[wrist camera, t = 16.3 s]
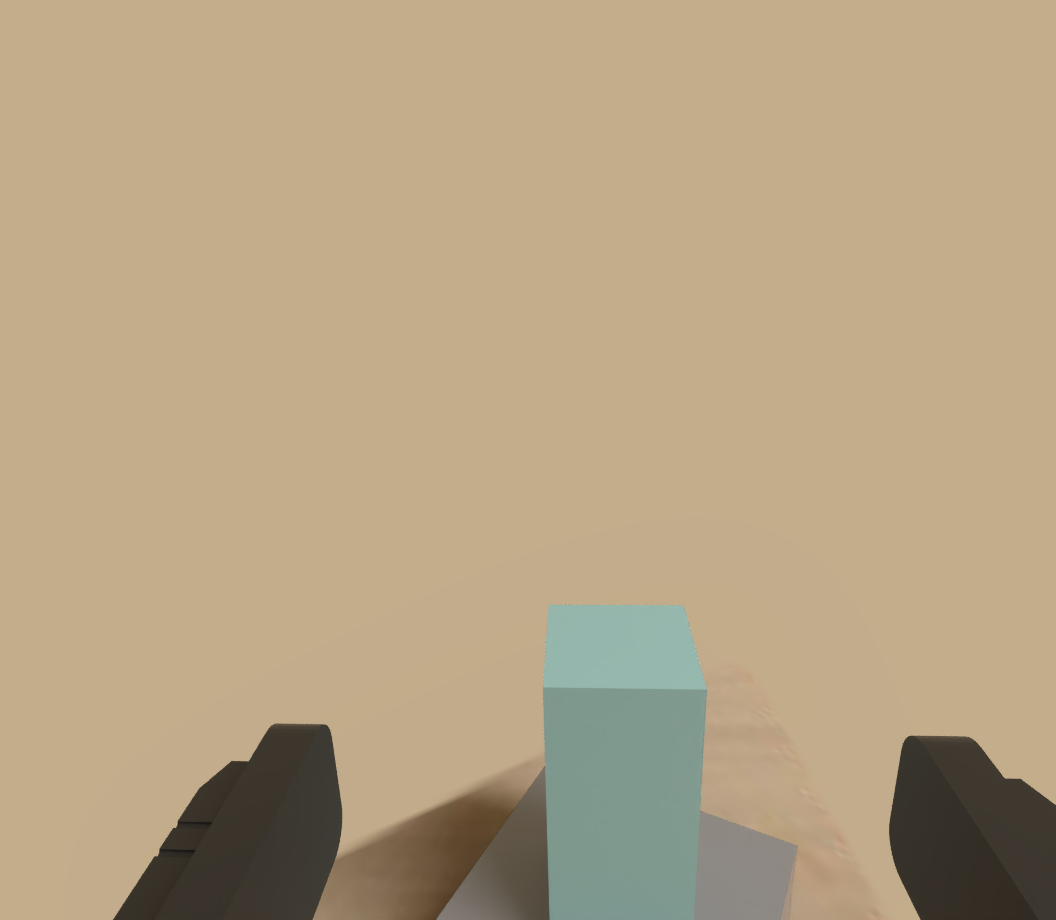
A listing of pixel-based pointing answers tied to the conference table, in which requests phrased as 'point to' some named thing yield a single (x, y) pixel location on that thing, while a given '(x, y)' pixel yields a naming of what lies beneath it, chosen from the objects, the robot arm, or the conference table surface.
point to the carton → (622, 761)
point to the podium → (721, 878)
